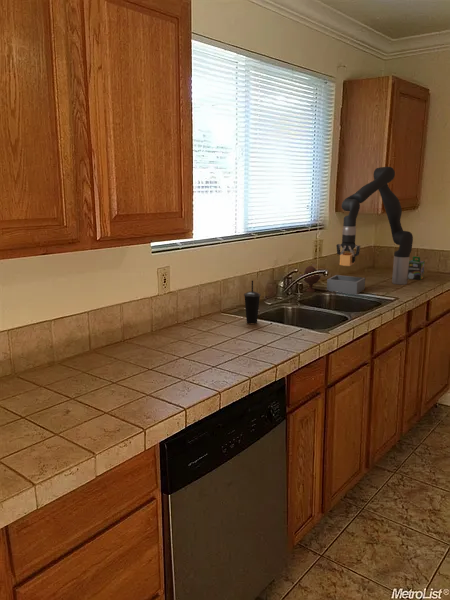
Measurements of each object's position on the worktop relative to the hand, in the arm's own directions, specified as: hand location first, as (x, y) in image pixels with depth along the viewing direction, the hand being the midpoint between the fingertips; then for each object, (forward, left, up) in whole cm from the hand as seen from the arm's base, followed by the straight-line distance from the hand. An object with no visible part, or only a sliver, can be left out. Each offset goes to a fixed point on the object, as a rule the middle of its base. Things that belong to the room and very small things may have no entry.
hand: (347, 262), depth 303 cm
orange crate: (0, 0, -1) cm, 1 cm away
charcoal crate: (0, 0, -17) cm, 17 cm away
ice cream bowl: (+13, -17, -17) cm, 27 cm away
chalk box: (-59, +28, -17) cm, 68 cm away
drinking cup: (+91, -15, -17) cm, 94 cm away
